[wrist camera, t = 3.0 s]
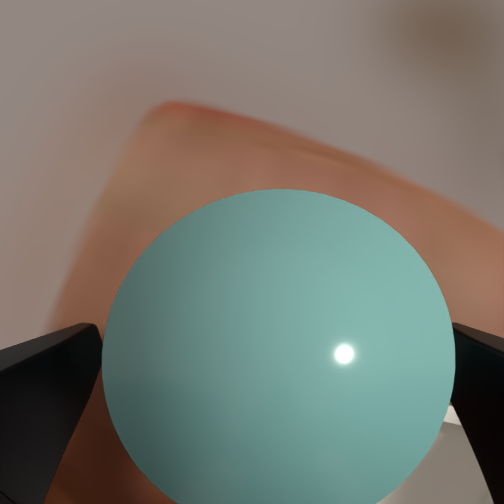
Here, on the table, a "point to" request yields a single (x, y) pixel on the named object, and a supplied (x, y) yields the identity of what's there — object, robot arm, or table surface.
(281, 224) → the teal cylinder
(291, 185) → the table surface
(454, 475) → the tray
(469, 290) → the table surface
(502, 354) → the robot arm
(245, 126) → the table surface
